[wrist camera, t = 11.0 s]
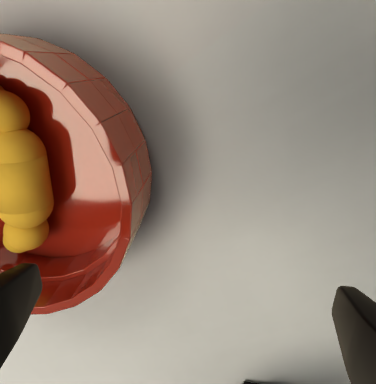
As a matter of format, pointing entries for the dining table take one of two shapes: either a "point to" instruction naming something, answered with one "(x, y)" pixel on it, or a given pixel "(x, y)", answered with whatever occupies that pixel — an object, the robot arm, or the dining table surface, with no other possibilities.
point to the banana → (22, 178)
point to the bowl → (78, 169)
